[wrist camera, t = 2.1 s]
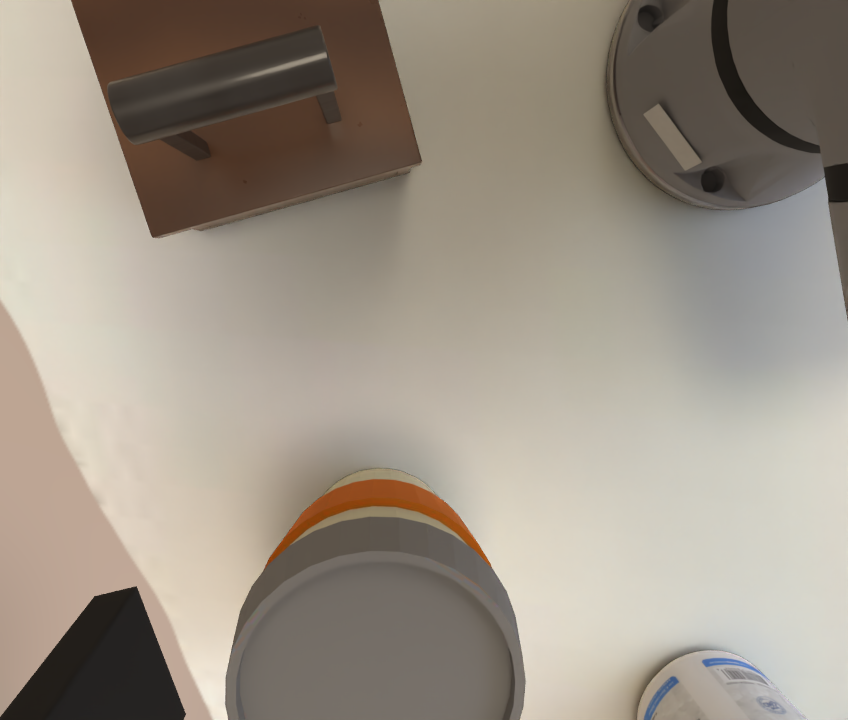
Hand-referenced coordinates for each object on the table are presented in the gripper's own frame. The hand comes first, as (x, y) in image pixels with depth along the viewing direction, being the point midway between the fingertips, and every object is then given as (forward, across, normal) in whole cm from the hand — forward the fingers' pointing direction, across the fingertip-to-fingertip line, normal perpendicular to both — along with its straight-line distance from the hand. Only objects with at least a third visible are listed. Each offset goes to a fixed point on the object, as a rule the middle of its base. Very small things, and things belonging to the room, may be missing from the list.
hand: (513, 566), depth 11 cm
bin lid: (+21, +5, -16) cm, 27 cm away
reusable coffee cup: (+27, +6, +13) cm, 30 cm away
